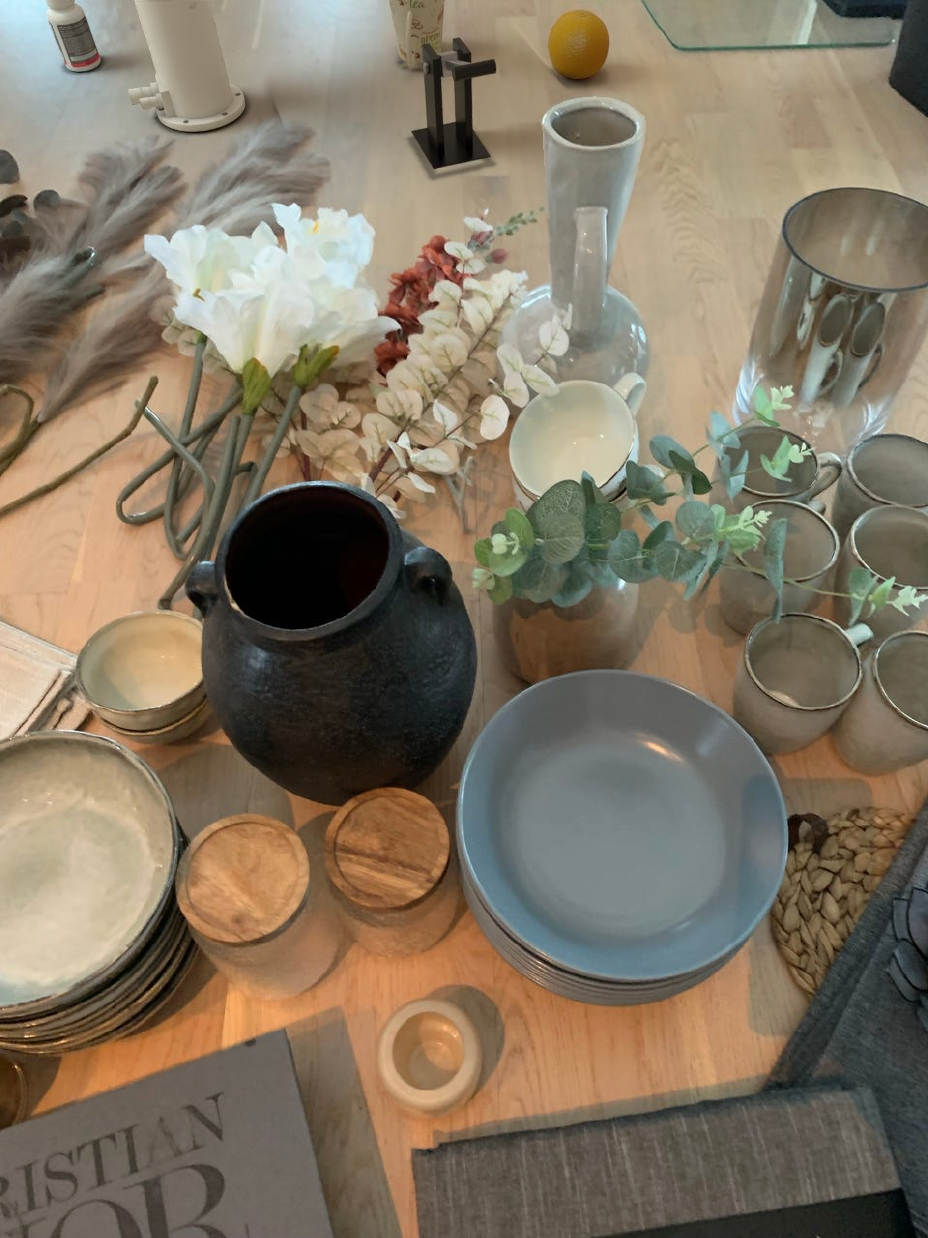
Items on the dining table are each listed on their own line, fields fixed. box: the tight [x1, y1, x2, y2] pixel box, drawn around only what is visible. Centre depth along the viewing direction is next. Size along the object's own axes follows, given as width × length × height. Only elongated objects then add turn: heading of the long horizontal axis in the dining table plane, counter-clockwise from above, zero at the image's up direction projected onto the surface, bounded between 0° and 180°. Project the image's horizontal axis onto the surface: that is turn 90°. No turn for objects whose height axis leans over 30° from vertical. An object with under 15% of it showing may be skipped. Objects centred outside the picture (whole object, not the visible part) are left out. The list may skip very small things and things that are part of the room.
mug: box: [388, 0, 445, 68], centre depth 125 cm, size 8×13×10 cm, turn 174°
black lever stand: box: [410, 36, 492, 170], centre depth 111 cm, size 10×8×13 cm
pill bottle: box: [45, 0, 101, 73], centre depth 129 cm, size 5×5×10 cm
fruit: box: [547, 9, 610, 80], centre depth 124 cm, size 9×8×8 cm
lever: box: [437, 50, 497, 82], centre depth 103 cm, size 13×5×2 cm, turn 19°
